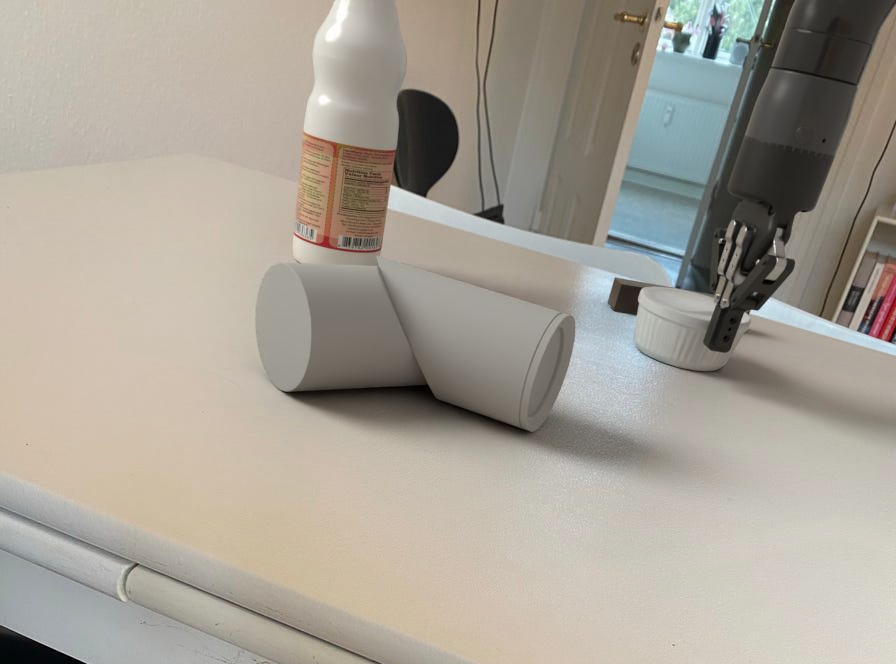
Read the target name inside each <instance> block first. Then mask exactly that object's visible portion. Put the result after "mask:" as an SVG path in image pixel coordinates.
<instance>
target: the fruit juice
mask: <svg viewBox="0 0 896 664" xmlns="http://www.w3.org/2000/svg"><path fill="white" fill-rule="evenodd" d="M312 45H313V46H312V52H311V55H312V66H313V75H314V76H313V77H314V83H313V87H312V91H311V93H310V94H309V96H308V98H307V103H306V108H305V112H304V113H305V114H304V121H303V130H302V143H301V153H300V164H299V172H298V173H299V175H298V184H297V194H296V206H295V216H294V224H293V225H294V226H293V227H294V228H293V237H292V238H293V239H292V254H293V258H294V259H295V260H296V261H297V263H307V264H335V265H362V266H379V265H378V261H377V256H380V257H381V256H382V255H381V253H382V247H383V241H384V233H385V227H386V219H387V213H388V206H389V200H390V193H391V186H392V179H393V172H394V165H395V158H396V153H397V147H398V138H399V131H400V130H399V128H400V115H399V111H398V96H399V94H400V90H401V88H402V85H403V82H404V80H405V78H406V73H407V65H408V54H407V53H408V52H407V48H406V45H405V42H404V40H403V36H402V32H401V27H400V20H399V15H398V6H397V0H333V3H332V6H331V8H330V9H329V12H328V14H327V16H326V18H325V19H324V21H323V22H322V24H321V25H320V26H319V28H318V30H317V31H316V34H315V36H314V39H313V44H312Z"/></svg>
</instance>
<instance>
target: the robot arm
mask: <svg viewBox="0 0 896 664" xmlns="http://www.w3.org/2000/svg"><path fill="white" fill-rule="evenodd" d="M895 8H896V0H794V2H793V4H792V6H791V8H790V11H789V13H788V16H787V19H786V22H785V25H784V29H783V31H782V34H781V36H780V40H779V43H778V46H777V49H776V52H775V54H774V57H773V60H772V63H771V68H770V69H769V71H768V74H767V77H766V79H765V81H764V83H763V85H762V87H761V89H760V91H759V93H758V96H757V98H756V101H755V103H754V106H753V109H752V112H751V115H750V118H749V121H748V124H747V127H746V130H745V133H744V135H743V139H742V141H741V145H740V147H739V150H738V154H737V156H736V159H735V162H734V164H733V167H732V170H731V174H730V177H729V180H728V183H727V191H728V193H729V194H730V195H731V196H734V197H735V198H739V199H740V200H739V201H738V204H737V206H736V208H735V209H734V211H733V213H732V216H731V218H730V222H729V224H728V226H727V228H721V227H716V228H715V230H714V232H713V235H712V245H711V258H710V259H711V260H710V273H709V274H710V275H709V291H710V292H711V293H714V295H715V296H714V303H716V304H717V305H716V306H715V309H714V312H713V315H712V317H711V320H710V323H709V326H708V329H707V331H706V334H705V337H704V340H703V344H704V345H705V346H706V347H707V348H708V349H710V350H711V351H716V352H722V353H727V352H728V351H729V350H730V349H731V347H732V344H733V341H734V339H735V336H736V333H737V331H738V328H739V325H740V323H741V320H742V317H743V315H744V313H747V312H749V311H750V310H751V311H756V312H758V311H760V310H761V309H762V307H763V306H764V305H765V304H766V303H767V302H768V300H769V299H770V298H771V297H772V296H773V295H774V294H775V293H776V291H777V290H779V288H780V287H781V285H783V283H785V281H786V280H787V279H788V278H789V276H791V274H792V273H793V271H794V269H795V266H796V261H795V259H794V258H789V257H786V252H785V251H786V250H785V248H786V246H787V244H788V243H789V241H790V238H791V236H792V231H793V225H794V221H795V216H796V215H797V214H798V213H810V212H812V211H814V209H816V207H817V205H818V201H819V199H820V196H821V194H822V191H823V189H824V186H825V184H826V181H827V180H828V179H827V178H828V176H829V174H830V171H831V169H832V166H833V163H834V162H835V161H834V160H835V158H836V156H837V153H838V151H839V148H840V146H841V143H842V141H843V138H844V135H845V132H846V130H847V128H848V125H849V122H850V119H851V117H852V113H853V109H854V104H855V101H856V97H857V94H858V91H859V88H860V87H859V86H860V85H861V83H862V80H863V77H864V75H865V72H866V70H867V68H868V65H869V62H870V60H871V58H872V54H873V52H874V50H875V47H876V45H877V42H878V40H879V36H880V33H881V31H882V29H883V27H884V25H885V24H886V22H887V20H888V19H889V17H890V16H891V14H892V13H893V11H894V10H895ZM751 311H750V312H751Z"/></svg>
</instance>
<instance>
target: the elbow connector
mask: <svg viewBox="0 0 896 664" xmlns="http://www.w3.org/2000/svg"><path fill="white" fill-rule="evenodd" d="M377 261H378V266H362V265H335V264H307V263H300V262H277V263H274V264H272V265H271V266H270V267H269V268H268V269H267V270H266V272H265V273H264V275H263V277H262V278H261V282H260V285H259V288H258V292H257V296H256V302H255V312H254V313H255V315H254V320H255V321H254V322H255V323H254V324H255V325H254V326H255V327H254V328H255V338H256V345H257V350H258V354H259V358H260V361H261V364H262V367H263V369H264V372H265V374H266V376H267V377H268V379H269V381H270V382H271V383H272V385H274V387H276V388H277V389H278V390H280V391H281V392H288V393H289V392H308V391H326V390H327V391H328V390H329V391H330V390H347V389H349V390H350V389H367V388H369V389H370V388H386V387H389V388H390V387H407V386H408V387H411V386H429V389H430V390H431V392H432V394H433V395H434V397H435V398H436V399H437V400H439V401H442V402H444V403H448V404H450V405H453V406H456V407H458V408H461V409H464V410H468V411H470V412H473V413H476V414H479V415H482V416H485V417H488V418H491V419H494V420H496V421H499V422H501V423H504V424H507V425H511V426H513V427H516V428H519V429H522V430H525V431H528V432H530V433H533V432H536V431H537V430H539V428H540V427H541V426H542V425H543V424H544V422H545V421H546V420H547V418H548V417H549V414H550V413H551V411H552V410H553V407H554V406H555V404H556V401H557V400H558V396H559V394H560V391H561V389H562V387H563V384H564V383H565V382H564V381H565V379H566V375H567V373H568V370H569V366H570V362H571V360H572V359H571V358H572V355H573V350H574V347H575V346H574V344H575V338H576V320H575V318H574V316H573V315H572V314H569V313H565V312H562V311H559V310H556V309H552V308H549V307H545V306H543V305H540V304H536V303H533V302H529V301H526V300H523V299H521V298H516V297H514V296H510V295H507V294H504V293H500V292H497V291H495V290H490V289H488V288H484V287H481V286H477V285H474V284H471V283H467V282H465V281H461V280H458V279H455V278H452V277H448V276H445V275H442V274H439V273H435V272H432V271H429V270H426V269H422V268H419V267H415V266H412V265H409V264H406V263H403V262H399V261H396V260H394V259H391V258H386V257H384V256H381V255H380V256H377Z"/></svg>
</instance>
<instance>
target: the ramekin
mask: <svg viewBox="0 0 896 664" xmlns="http://www.w3.org/2000/svg"><path fill="white" fill-rule="evenodd" d="M667 287H668V286H667ZM667 287H644V288H643V289H641V291H640V294H639V297H638V302H639V307H638V312H637V315H636V318H635V326H634V331H633V340H634V343H635V346H636V348H637V349H638V350H639V351H640V352H641V353H642V354H644V355H645V356H647V357H649V358H651V359H654V360H656V361H658V362H660V363H664V364H666V365H670V366H673V367H677V368H679V369H684V370H690V371H696V372H714V371H717V370H719V369H721V368H723V367H724V366H725V365H726V364H727V363H728V362H729V360H730V358H731V357H732V355H733V353H734V351H736V348H737V346H738V345H739V343H740V341H741V339H742V337H743V335H744V333H745V332H747V331H748V330H749V328H750V326H751V323H752V318H751V316H750V314H749V315H748V314H747V313H744V315H743V317H742V320H741V323H740V325H739V328H738V331H737V333H736V336H735V339H734V341H733V344H732V347H731V349H730V350H729V351H728V352H727V353H722V352H716V351H711V350H710V349H708V348H707V347H706V346H705V345H704V344H703V340H704V337H705V334H706V331H707V329H708V326H709V323H710V320H711V317H712V315H713V312H714V309H715V306H716V305H717V304H716V303H714V298H712V297H709V296H706V295H702V294H698V293H695V292H696V291H695V292H690V291H691V290H690V291H686V290H687V289H684V290H681V289H682V288H678V289H675V288H676V287H673V288H667Z"/></svg>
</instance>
